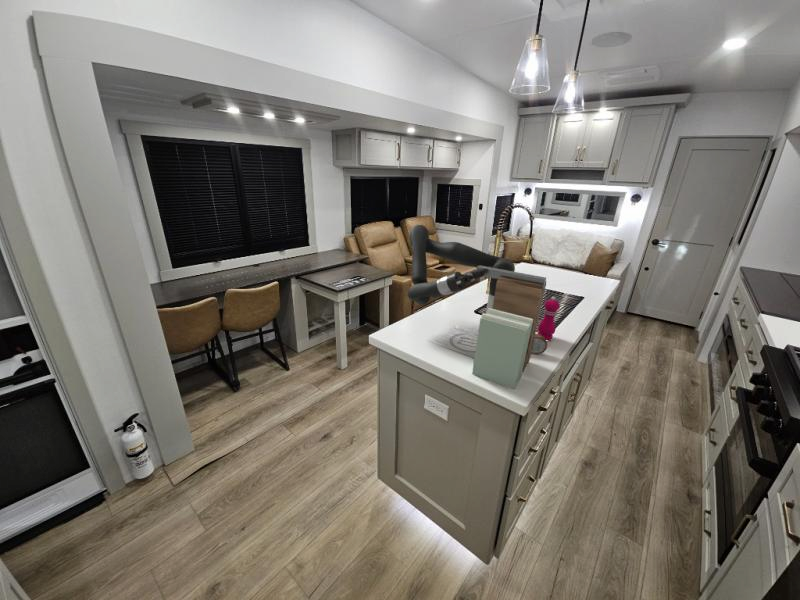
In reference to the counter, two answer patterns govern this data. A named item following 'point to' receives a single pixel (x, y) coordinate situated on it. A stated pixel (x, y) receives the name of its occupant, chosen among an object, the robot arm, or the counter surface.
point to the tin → (539, 344)
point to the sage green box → (501, 347)
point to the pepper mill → (548, 319)
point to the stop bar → (511, 275)
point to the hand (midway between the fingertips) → (487, 270)
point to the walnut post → (520, 303)
